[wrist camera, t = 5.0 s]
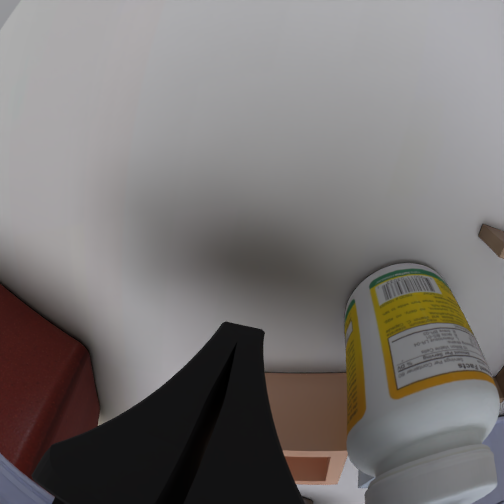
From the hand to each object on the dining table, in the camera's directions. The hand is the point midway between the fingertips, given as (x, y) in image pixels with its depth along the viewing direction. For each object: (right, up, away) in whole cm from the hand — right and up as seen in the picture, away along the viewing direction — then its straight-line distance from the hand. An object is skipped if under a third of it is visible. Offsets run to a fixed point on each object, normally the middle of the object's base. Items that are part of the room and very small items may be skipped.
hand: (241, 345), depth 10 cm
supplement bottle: (+7, +1, +3) cm, 8 cm away
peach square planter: (+3, -6, +7) cm, 10 cm away
